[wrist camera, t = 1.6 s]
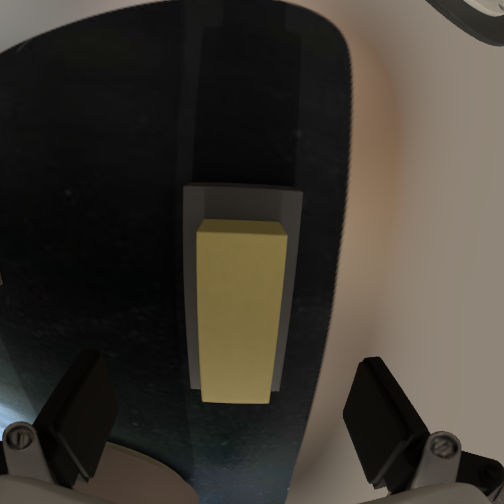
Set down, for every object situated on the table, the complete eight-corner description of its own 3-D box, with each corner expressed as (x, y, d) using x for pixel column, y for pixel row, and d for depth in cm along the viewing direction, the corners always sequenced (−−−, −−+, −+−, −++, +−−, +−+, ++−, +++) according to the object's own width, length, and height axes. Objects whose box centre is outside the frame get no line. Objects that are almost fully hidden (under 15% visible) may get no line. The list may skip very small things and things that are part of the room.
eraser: (191, 181, 15) (170, 191, 11) (293, 186, 16) (317, 198, 11) (195, 364, 19) (185, 417, 14) (275, 366, 19) (284, 420, 14)
